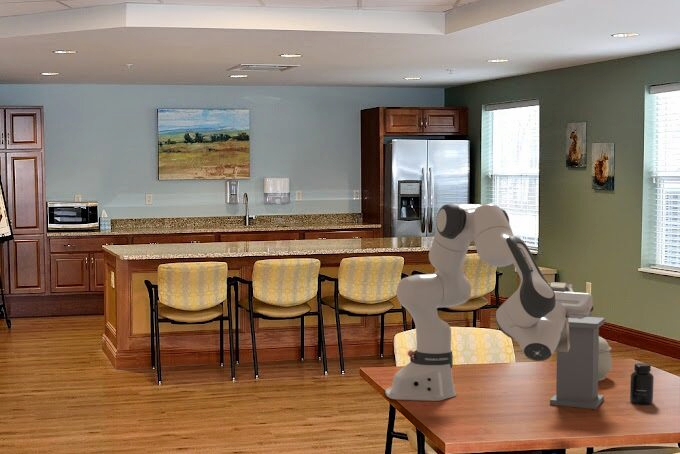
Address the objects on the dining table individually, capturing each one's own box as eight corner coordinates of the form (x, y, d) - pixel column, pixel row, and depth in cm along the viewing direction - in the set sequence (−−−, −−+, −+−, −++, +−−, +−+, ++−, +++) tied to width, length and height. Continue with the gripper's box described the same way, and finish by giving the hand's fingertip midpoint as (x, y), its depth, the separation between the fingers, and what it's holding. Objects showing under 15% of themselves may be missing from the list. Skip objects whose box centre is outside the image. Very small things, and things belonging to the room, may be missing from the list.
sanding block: (563, 288, 274) (566, 282, 277) (549, 287, 276) (552, 282, 279) (567, 352, 283) (570, 346, 285) (554, 350, 285) (556, 345, 287)
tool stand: (596, 409, 297) (597, 323, 296) (549, 404, 303) (551, 320, 302) (603, 400, 309) (605, 317, 307) (559, 395, 315) (560, 315, 313)
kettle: (605, 386, 328) (606, 312, 327) (550, 381, 336) (551, 309, 335) (618, 372, 351) (620, 303, 349) (567, 368, 359) (568, 300, 357)
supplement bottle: (637, 405, 302) (638, 367, 301) (625, 400, 308) (626, 362, 308) (657, 404, 304) (658, 365, 303) (645, 399, 310) (645, 361, 309)
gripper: (587, 309, 263) (596, 278, 273) (512, 304, 271) (523, 274, 282) (589, 327, 266) (598, 297, 276) (514, 322, 274) (526, 292, 285)
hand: (560, 285), depth 279 cm, fingers closed on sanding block, 4 cm apart
